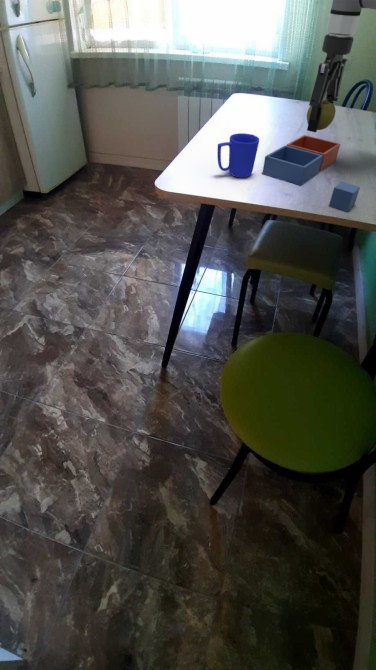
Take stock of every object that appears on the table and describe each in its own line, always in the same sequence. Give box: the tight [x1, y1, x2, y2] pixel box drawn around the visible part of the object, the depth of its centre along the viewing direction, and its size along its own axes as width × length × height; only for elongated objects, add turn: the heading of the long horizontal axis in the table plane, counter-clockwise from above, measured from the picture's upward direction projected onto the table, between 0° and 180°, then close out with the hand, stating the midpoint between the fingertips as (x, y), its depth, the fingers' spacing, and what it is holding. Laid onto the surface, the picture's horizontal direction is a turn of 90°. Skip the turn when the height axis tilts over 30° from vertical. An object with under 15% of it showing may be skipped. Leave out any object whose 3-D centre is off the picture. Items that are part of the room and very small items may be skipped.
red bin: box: [286, 134, 341, 173], centre depth 128 cm, size 12×12×5 cm
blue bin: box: [261, 144, 323, 186], centre depth 120 cm, size 12×12×5 cm
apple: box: [306, 100, 337, 131], centre depth 121 cm, size 8×8×7 cm
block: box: [328, 181, 361, 213], centre depth 106 cm, size 5×5×5 cm
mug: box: [217, 132, 260, 178], centre depth 116 cm, size 8×12×10 cm
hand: (317, 127), depth 123 cm, fingers closed on apple, 8 cm apart
